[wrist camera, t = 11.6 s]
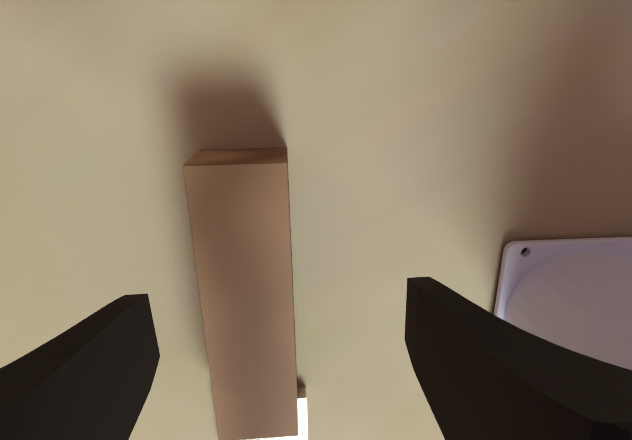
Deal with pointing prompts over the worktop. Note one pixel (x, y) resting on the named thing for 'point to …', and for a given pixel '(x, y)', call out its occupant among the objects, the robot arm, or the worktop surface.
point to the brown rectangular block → (247, 290)
